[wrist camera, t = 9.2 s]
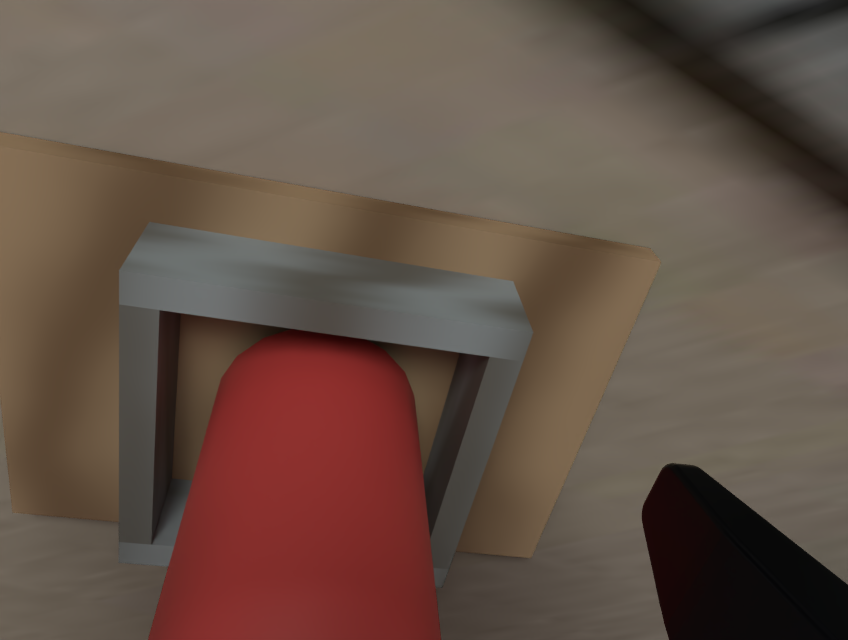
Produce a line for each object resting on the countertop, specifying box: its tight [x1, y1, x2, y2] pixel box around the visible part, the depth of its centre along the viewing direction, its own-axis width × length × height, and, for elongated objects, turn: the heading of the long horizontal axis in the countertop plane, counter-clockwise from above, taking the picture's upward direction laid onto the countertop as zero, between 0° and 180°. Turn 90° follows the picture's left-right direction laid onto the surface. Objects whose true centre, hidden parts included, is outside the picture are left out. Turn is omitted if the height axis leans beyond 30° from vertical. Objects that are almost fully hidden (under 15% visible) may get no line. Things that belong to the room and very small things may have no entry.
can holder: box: [0, 132, 661, 588], centre depth 23 cm, size 20×14×4 cm
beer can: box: [148, 329, 441, 640], centre depth 19 cm, size 7×7×12 cm
